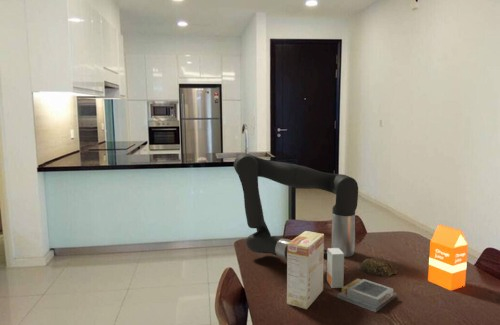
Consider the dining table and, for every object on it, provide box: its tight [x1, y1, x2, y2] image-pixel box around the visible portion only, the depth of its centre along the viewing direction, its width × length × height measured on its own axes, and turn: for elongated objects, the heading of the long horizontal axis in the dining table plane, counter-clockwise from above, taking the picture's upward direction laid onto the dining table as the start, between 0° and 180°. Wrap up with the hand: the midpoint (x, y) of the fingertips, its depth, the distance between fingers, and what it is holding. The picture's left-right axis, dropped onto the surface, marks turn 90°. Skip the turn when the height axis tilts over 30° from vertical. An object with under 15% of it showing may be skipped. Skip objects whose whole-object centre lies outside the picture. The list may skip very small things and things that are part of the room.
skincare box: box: [326, 247, 345, 289], centre depth 130 cm, size 6×4×12 cm
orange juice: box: [427, 224, 469, 291], centre depth 131 cm, size 8×9×20 cm
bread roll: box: [359, 257, 398, 278], centre depth 143 cm, size 13×12×5 cm
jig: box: [337, 277, 397, 313], centre depth 121 cm, size 14×13×3 cm
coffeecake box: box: [286, 230, 325, 310], centre depth 121 cm, size 15×7×20 cm, turn 150°
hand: (326, 261), depth 133 cm, fingers open, 8 cm apart
